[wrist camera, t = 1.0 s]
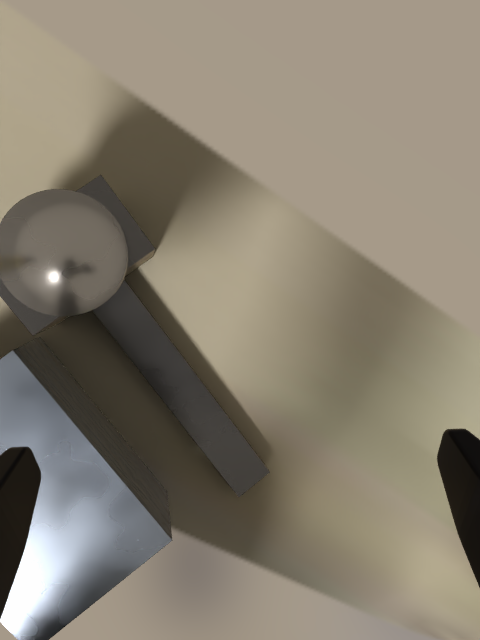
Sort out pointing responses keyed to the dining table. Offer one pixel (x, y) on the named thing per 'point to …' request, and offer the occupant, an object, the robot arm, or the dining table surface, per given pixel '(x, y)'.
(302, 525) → the dining table surface
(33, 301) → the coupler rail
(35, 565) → the block
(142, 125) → the dining table surface
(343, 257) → the dining table surface
